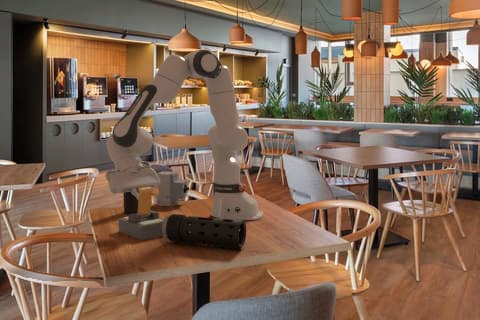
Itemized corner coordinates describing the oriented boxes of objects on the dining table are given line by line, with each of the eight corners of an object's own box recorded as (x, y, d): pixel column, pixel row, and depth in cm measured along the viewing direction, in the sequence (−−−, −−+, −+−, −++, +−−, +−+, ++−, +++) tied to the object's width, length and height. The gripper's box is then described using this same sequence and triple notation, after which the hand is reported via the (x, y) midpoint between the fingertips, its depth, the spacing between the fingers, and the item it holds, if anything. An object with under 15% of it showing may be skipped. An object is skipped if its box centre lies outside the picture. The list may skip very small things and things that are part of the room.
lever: (135, 218, 192) (138, 188, 189) (147, 216, 195) (150, 186, 192) (138, 220, 191) (141, 190, 187) (150, 218, 194) (153, 188, 191)
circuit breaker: (186, 206, 237) (185, 174, 235) (157, 205, 240) (156, 173, 238) (191, 203, 245) (190, 172, 243) (162, 202, 247) (161, 171, 245)
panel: (118, 231, 195) (118, 212, 194) (145, 225, 203) (145, 207, 202) (141, 240, 184) (141, 219, 183) (169, 234, 192) (169, 214, 191)
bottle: (136, 210, 231) (135, 166, 228) (142, 213, 225) (140, 167, 222) (121, 211, 227) (120, 167, 225) (127, 215, 221) (125, 169, 219)
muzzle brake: (237, 254, 169) (238, 223, 167) (161, 246, 177) (160, 216, 176) (246, 245, 178) (246, 216, 176) (173, 238, 186) (172, 210, 185)
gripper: (106, 166, 189) (119, 197, 183) (154, 162, 202) (168, 190, 196) (100, 176, 193) (113, 207, 187) (147, 172, 206) (161, 200, 200)
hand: (142, 198), depth 192 cm, fingers closed, pressing on lever
